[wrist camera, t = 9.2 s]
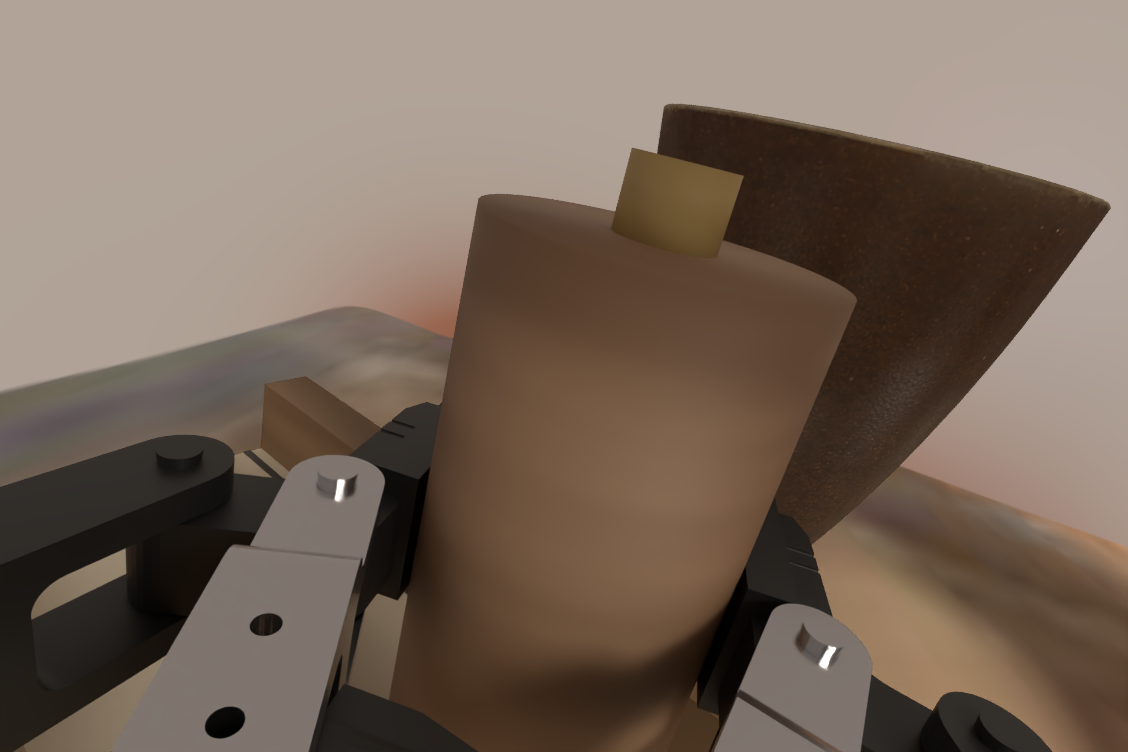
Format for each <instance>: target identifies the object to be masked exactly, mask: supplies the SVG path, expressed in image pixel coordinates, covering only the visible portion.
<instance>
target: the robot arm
mask: <svg viewBox="0 0 1128 752" xmlns="http://www.w3.org/2000/svg"><path fill="white" fill-rule="evenodd" d="M441 405H442V403H441V404H440V405H439V406H438V405H434V404H431V403H428V402H425V403H422V404H419V405H416V406H412V407H409V408H406V409H404V410H403V411H402V412H401V413H400V414H398V415H397V416H396V417H395V418H394V419H392V422H389V423H387V424H386V425H385V426H384V427H383V428H381V431H378V432H377V433H375V434H374V435H373V436H372V437H371V438H369V439H368V440H367V441H366V442H364V443H363V444H362V445H361V446H360V447H358V448H357V449H356V450H355V451H354V452H352V453H351V454H350V455H349V456H344V455H325V456H318V457H313V458H310V459H307V460H305V461H302V462H300V463H299V464H297V465H296V466H294V467H293V468H292V469H291V471H290V472H289V473H288V475H287V477H286V479H283V478H271V477H262V476H254V475H246V474H237V473H234V460H235V458H234V453H233V451H232V449H231V448H230V447H229V446H227V445H226V444H225V443H223V442H221V441H219V440H216V439H213V438H209V437H204V436H197V435H172V436H165V437H159V438H155V439H151V440H148V441H144V442H141V443H138V444H135V445H132V446H129V447H126V448H122V449H119V450H116V451H113V452H110V453H107V454H103V455H100V456H97V457H94V458H91V459H88V460H84V461H81V462H78V463H75V464H72V465H69V466H65V467H62V468H59V469H56V470H53V471H50V472H46V473H43V474H40V475H37V476H34V477H31V478H28V479H24V480H21V481H18V482H15V483H12V484H9V485H5V486H2V487H0V752H13V751H15V750H17V749H18V748H20V747H21V746H23V745H25V744H26V743H28V742H29V741H31V740H33V739H34V738H36V737H37V736H39V735H41V734H42V733H44V732H45V731H47V730H48V729H50V728H52V727H53V726H55V725H56V724H58V723H60V722H61V721H63V720H64V719H66V718H68V717H69V716H71V715H72V714H74V713H75V712H77V711H79V710H80V709H82V708H83V707H85V706H87V705H88V704H90V703H91V702H93V701H95V700H96V699H98V698H99V697H101V696H103V695H104V694H106V693H107V692H109V691H110V690H112V689H114V688H115V687H117V686H118V685H120V684H122V683H123V682H125V681H126V680H128V679H130V678H131V677H133V676H134V675H136V674H137V673H139V672H141V671H142V670H144V669H145V668H147V667H149V666H150V665H152V664H153V663H155V662H157V661H158V660H160V659H161V658H163V657H165V656H166V657H165V658H164V660H163V662H162V664H161V665H160V667H159V669H158V671H157V672H156V674H155V676H154V677H153V679H152V681H151V683H150V684H149V686H148V688H147V690H146V691H145V693H144V695H143V696H142V698H141V700H140V702H139V703H138V705H137V707H136V708H135V710H134V712H133V714H132V715H131V717H130V719H129V721H128V722H127V724H126V726H125V727H124V729H123V731H122V733H121V734H120V736H119V738H118V740H117V741H116V743H115V745H114V746H113V748H112V750H111V752H478V751H477V750H475V749H474V748H472V747H471V746H469V745H468V744H467V743H465V742H464V741H462V740H461V739H459V738H458V737H457V736H455V735H454V734H452V733H451V732H449V731H448V730H446V729H445V728H444V727H442V726H441V725H439V724H438V723H436V722H435V721H434V720H432V719H431V718H429V717H428V716H426V715H425V714H423V713H422V712H419V711H417V710H414V709H411V708H409V707H406V706H403V705H401V704H398V703H395V702H393V701H390V700H387V699H385V698H382V697H379V696H377V695H374V694H371V693H369V692H366V691H363V690H361V689H358V688H355V687H353V686H350V681H351V676H352V672H353V668H354V663H355V659H356V655H357V650H358V646H359V642H360V637H361V633H362V628H363V624H364V618H365V611H366V608H367V607H368V605H369V604H370V603H371V601H372V600H373V599H374V597H375V596H376V595H377V594H380V595H383V596H386V597H389V598H391V599H394V600H397V601H398V600H399V598H400V597H401V595H402V594H403V592H404V591H405V590H406V588H407V587H408V585H409V584H410V578H411V573H412V567H413V562H414V556H415V550H416V545H417V539H418V534H419V528H420V523H421V517H422V511H423V506H424V500H425V495H426V489H427V483H428V478H429V472H430V467H431V461H432V456H433V450H434V444H435V439H436V433H437V428H438V422H439V417H440V411H441ZM123 549H126V574H124V575H122V576H120V577H118V578H116V579H114V580H112V581H110V582H108V583H106V584H104V585H102V586H100V587H98V588H96V589H94V590H92V591H89V592H87V593H85V594H83V595H81V596H79V597H77V598H75V599H73V600H71V601H69V602H67V603H65V604H63V605H61V606H59V607H57V608H54V609H52V610H50V611H48V612H46V613H44V614H42V615H40V616H38V617H36V618H34V619H31V612H32V609H33V606H34V604H35V602H36V600H37V599H38V597H39V596H40V595H41V594H42V592H43V591H44V590H45V589H46V588H48V587H49V586H50V585H51V584H52V583H54V582H55V581H57V580H58V579H60V578H62V577H64V576H66V575H68V574H70V573H72V572H75V571H77V570H79V569H81V568H83V567H86V566H88V565H90V564H92V563H94V562H97V561H99V560H101V559H103V558H106V557H108V556H110V555H112V554H114V553H117V552H119V551H121V550H123ZM813 557H814V552H813V549H812V546H811V542H810V539H809V536H808V535H807V534H806V533H805V531H804V530H803V529H802V528H801V527H800V525H799V524H798V523H797V522H796V520H795V519H794V518H793V517H790V516H787V515H784V514H780V513H778V509H777V505H776V500H775V497H774V499H773V501H772V504H771V506H770V508H769V511H768V513H767V516H766V518H765V520H764V523H763V525H762V527H761V530H760V532H759V535H758V537H757V539H756V542H755V544H754V546H753V549H752V551H751V554H750V556H749V558H748V561H747V563H746V565H745V568H744V570H743V572H742V575H741V577H740V580H739V582H738V584H737V587H736V589H735V591H734V594H733V596H732V599H731V601H730V603H729V606H728V608H727V610H726V613H725V615H724V618H723V620H722V622H721V625H720V627H719V629H718V632H717V634H716V637H715V639H714V641H713V644H712V646H711V648H710V651H709V653H708V656H707V658H706V660H705V663H704V665H703V667H702V670H701V672H700V674H699V677H698V679H697V708H699V709H702V710H705V711H707V712H710V713H713V714H716V715H719V729H718V731H717V733H716V735H715V738H714V740H713V742H712V744H711V746H710V749H709V751H708V752H1052V751H1051V750H1050V748H1049V747H1048V746H1047V745H1046V744H1045V743H1044V742H1043V740H1042V739H1041V738H1040V737H1039V736H1038V735H1037V734H1036V733H1035V732H1034V731H1032V730H1031V729H1030V728H1029V727H1028V726H1027V725H1025V724H1024V723H1023V722H1022V721H1021V720H1019V719H1018V718H1016V717H1015V716H1014V715H1012V714H1011V713H1009V712H1008V711H1006V710H1005V709H1003V708H1001V707H1000V706H998V705H996V704H994V703H992V702H990V701H988V700H986V699H983V698H981V697H978V696H975V695H973V694H968V693H964V692H950V693H947V694H945V695H943V696H942V697H941V698H940V700H939V701H938V703H937V705H936V706H935V708H934V709H933V711H932V710H930V709H928V708H926V707H925V706H923V705H921V704H919V703H918V702H916V701H914V700H912V699H910V698H909V697H907V696H905V695H903V694H902V693H900V692H898V691H896V690H894V689H893V688H891V687H889V686H888V685H886V684H884V683H883V682H881V681H880V680H879V679H877V678H876V677H874V676H873V675H872V661H871V657H870V655H869V653H868V651H867V649H866V647H865V646H864V644H863V643H862V642H861V641H860V639H859V638H858V637H857V636H856V635H855V634H854V633H853V632H852V631H851V630H850V629H849V628H847V627H846V626H845V625H844V624H842V623H841V622H839V621H838V620H837V619H835V618H833V616H832V613H831V610H830V606H829V603H828V600H827V596H826V593H825V590H824V586H823V583H822V579H821V576H820V574H819V573H818V570H819V569H818V566H817V563H816V559H815V558H813Z"/></svg>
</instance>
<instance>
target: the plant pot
mask: <svg viewBox="0 0 1128 752" xmlns="http://www.w3.org/2000/svg"><path fill="white" fill-rule="evenodd" d="M657 154H660V155H664V156H668V157H672V158H676V159H679V160H683V161H687V162H691V163H695V164H699V165H703V166H707V167H711V168H715V169H719V170H723V171H727V172H730V173H734V174H738V175H742V176H743V180H742V183H741V186H740V189H739V192H738V195H737V198H736V201H735V204H734V207H733V210H732V213H731V216H730V219H729V222H728V225H727V228H726V231H725V234H724V238H723V240H724V241H727V242H730V243H734V244H737V245H740V246H743V247H746V248H749V249H752V250H755V251H758V252H761V253H764V254H767V255H770V256H773V257H775V258H778V259H781V260H784V261H786V262H789V263H792V264H794V265H797V266H799V267H802V268H804V269H807V270H809V271H812V272H814V273H816V274H818V275H821V276H823V277H825V278H827V279H829V280H831V281H833V282H835V283H837V284H839V285H841V286H842V287H844V288H846V289H847V290H849V291H850V292H851V293H852V294H853V295H854V296H855V297H856V299H857V302H856V304H855V307H854V309H853V312H852V314H851V316H850V319H849V321H848V323H847V326H846V328H845V331H844V333H843V335H842V338H841V340H840V342H839V345H838V347H837V350H836V352H835V354H834V357H833V359H832V361H831V364H830V366H829V368H828V371H827V373H826V376H825V378H824V380H823V383H822V385H821V387H820V390H819V392H818V395H817V397H816V399H815V402H814V404H813V406H812V409H811V411H810V414H809V416H808V418H807V421H806V423H805V425H804V428H803V430H802V433H801V435H800V437H799V440H798V442H797V444H796V447H795V449H794V452H793V454H792V456H791V459H790V461H789V463H788V466H787V468H786V470H785V473H784V475H783V478H782V480H781V482H780V485H779V487H778V489H777V492H776V494H775V500H776V505H777V509H778V513H780V514H784V515H787V516H790V517H793V518H794V519H795V520H796V522H797V523H798V524H799V525H800V527H801V528H802V529H803V530H804V531H805V533H806V534H807V535H808V536H809V539H810V542H811V545H812V544H813V543H814V542H815V541H817V540H818V539H819V538H820V537H821V536H823V535H824V534H825V533H826V532H828V531H829V530H830V529H831V528H832V527H834V526H835V525H836V524H837V523H838V522H840V521H841V520H842V519H843V518H844V517H845V516H846V515H847V514H849V513H850V512H851V511H852V510H853V509H854V508H855V507H856V506H857V505H859V504H860V503H861V502H862V501H863V500H864V499H865V498H866V497H867V496H868V495H869V494H870V493H872V492H873V491H874V490H875V489H876V488H877V487H878V486H879V485H880V484H881V483H882V482H883V481H884V480H885V479H886V478H887V477H888V476H889V475H891V474H892V473H893V472H894V471H895V470H896V469H897V468H898V467H899V466H900V465H901V464H902V462H904V460H906V458H907V457H908V456H909V455H910V454H911V453H912V452H913V451H914V450H915V449H916V448H917V447H918V446H919V445H920V444H921V443H922V442H923V441H924V440H925V439H926V438H927V437H928V436H929V435H930V433H931V432H932V431H933V430H934V429H935V428H936V427H937V426H938V425H939V424H940V423H941V422H942V420H943V419H944V418H945V417H946V416H947V415H948V414H949V413H950V412H951V411H952V410H953V409H954V408H955V406H956V405H957V404H958V403H959V402H960V401H961V400H962V399H963V398H964V396H965V395H966V394H967V393H968V392H969V391H970V389H971V388H972V387H973V386H974V385H975V384H976V382H977V381H978V380H979V379H980V378H981V377H982V375H983V374H984V373H985V372H986V371H987V370H988V369H989V367H990V366H991V365H992V364H993V362H994V361H995V360H996V359H997V358H998V357H999V355H1000V354H1001V353H1002V352H1003V351H1004V349H1005V348H1006V347H1007V346H1008V344H1009V343H1010V342H1011V341H1012V340H1013V338H1014V337H1015V336H1016V335H1017V333H1018V332H1019V331H1020V330H1021V328H1022V327H1023V326H1024V325H1025V323H1026V322H1027V321H1028V319H1029V318H1030V317H1031V316H1032V314H1033V313H1034V311H1035V310H1036V309H1037V308H1038V306H1039V305H1040V304H1041V302H1042V301H1043V300H1044V298H1045V297H1046V296H1047V295H1048V293H1049V292H1050V291H1051V289H1052V288H1053V286H1054V285H1055V284H1056V283H1057V281H1058V280H1059V278H1060V277H1061V276H1062V274H1063V273H1064V272H1065V270H1066V269H1067V268H1068V266H1069V265H1070V264H1071V262H1072V261H1073V260H1074V258H1075V257H1076V255H1077V254H1078V253H1079V251H1080V250H1081V249H1082V247H1083V246H1084V244H1085V243H1086V242H1087V240H1088V239H1089V238H1090V236H1091V235H1092V233H1093V232H1094V231H1095V229H1096V228H1097V226H1098V225H1099V224H1100V222H1101V221H1102V220H1103V218H1104V217H1105V215H1106V214H1107V213H1108V211H1109V210H1110V209H1111V207H1110V205H1109V203H1108V202H1106V201H1104V200H1103V199H1100V198H1097V197H1095V196H1092V195H1089V194H1086V193H1084V192H1081V191H1078V190H1076V189H1072V188H1069V187H1066V186H1062V185H1059V184H1056V183H1052V182H1049V181H1046V180H1042V179H1038V178H1035V177H1032V176H1028V175H1024V174H1020V173H1016V172H1013V171H1009V170H1005V169H1002V168H998V167H994V166H990V165H986V164H983V163H979V162H975V161H971V160H966V159H963V158H959V157H955V156H950V155H946V154H943V153H938V152H934V151H929V150H925V149H921V148H917V147H912V146H908V145H904V144H899V143H894V142H890V141H885V140H881V139H877V138H872V137H867V136H863V135H858V134H854V133H849V132H844V131H840V130H835V129H830V128H824V127H819V126H814V125H809V124H803V123H799V122H793V121H789V120H784V119H778V118H772V117H767V116H761V115H755V114H750V113H743V112H738V111H731V110H725V109H719V108H712V107H704V106H696V105H685V104H668V105H666V106H665V107H664V111H663V118H662V125H661V132H660V138H659V145H658V152H657Z"/></svg>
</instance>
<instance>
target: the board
mask: <svg viewBox="0 0 1128 752" xmlns="http://www.w3.org/2000/svg"><path fill="white" fill-rule="evenodd" d="M378 431H381V428H380V427H379V426H377V425H376V424H374V423H373V422H371V421H370V420H368V419H367V418H366V417H364V416H363V415H361V414H360V413H358V412H357V411H355V410H354V409H352V408H351V407H350V406H348V405H347V404H345V403H344V402H342V401H341V400H339V399H338V398H336V397H335V396H334V395H332V394H331V393H329V392H328V391H326V390H325V389H323V388H322V387H320V386H319V385H318V384H316V383H315V382H313V381H312V380H310V379H309V378H307V377H300V378H295V379H290V380H284V381H279V382H273V383H268V384H265V393H264V409H263V424H262V440H261V448H259V449H255V450H252V451H251V450H249V451H245V452H243V453H240V454H237V455H234V458H235V460H234V473H237V474H246V475H254V476H262V477H271V478H283V479H286V477H287V475H288V473H289V472H290V471H291V469H292V468H293V467H294V466H296V465H297V464H299V463H300V462H302V461H305V460H307V459H310V458H313V457H318V456H325V455H344V456H349V455H350V454H351V453H352V452H354V451H355V450H356V449H357V448H358V447H360V446H361V445H362V444H363V443H364V442H366V441H367V440H368V439H369V438H371V437H372V436H373V435H374V434H375V433H377V432H378ZM124 574H126V549H123V550H121V551H119V552H117V553H114V554H112V555H110V556H108V557H106V558H103V559H101V560H99V561H97V562H94V563H92V564H90V565H88V566H86V567H83V568H81V569H79V570H77V571H75V572H72V573H70V574H68V575H66V576H64V577H62V578H60V579H58V580H57V581H55V582H54V583H52V584H51V585H50V586H49V587H48V588H46V589H45V590H44V591H43V592H42V594H41V595H40V596H39V597H38V599H37V600H36V602H35V604H34V606H33V609H32V612H31V619H34V618H36V617H38V616H40V615H42V614H44V613H46V612H48V611H50V610H52V609H54V608H57V607H59V606H61V605H63V604H65V603H67V602H69V601H71V600H73V599H75V598H77V597H79V596H81V595H83V594H85V593H87V592H89V591H92V590H94V589H96V588H98V587H100V586H102V585H104V584H106V583H108V582H110V581H112V580H114V579H116V578H118V577H120V576H122V575H124ZM408 589H409V585H408V587H407V588H406V590H405V591H404V592H403V594H402V595H401V597H400V598H399V600H398V601H397V600H394V599H391V598H389V597H386V596H383V595H380V594H377V595H376V596H375V597H374V599H373V600H372V601H371V603H370V604H369V605H368V607H367V608H366V611H365V618H364V624H363V628H362V633H361V637H360V642H359V646H358V650H357V655H356V659H355V663H354V668H353V672H352V676H351V681H350V686H353V687H355V688H358V689H361V690H363V691H366V692H369V693H371V694H374V695H377V696H379V697H382V698H385V699H387V700H389V695H390V690H391V684H392V679H393V673H394V668H395V662H396V656H397V651H398V645H399V640H400V634H401V629H402V623H403V617H404V612H405V606H406V601H407V595H408ZM165 657H166V656H165ZM165 657H163V658H161V659H160V660H158V661H157V662H155V663H153V664H152V665H150V666H149V667H147V668H145V669H144V670H142V671H141V672H139V673H137V674H136V675H134V676H133V677H131V678H130V679H128V680H126V681H125V682H123V683H122V684H120V685H118V686H117V687H115V688H114V689H112V690H110V691H109V692H107V693H106V694H104V695H103V696H101V697H99V698H98V699H96V700H95V701H93V702H91V703H90V704H88V705H87V706H85V707H83V708H82V709H80V710H79V711H77V712H75V713H74V714H72V715H71V716H69V717H68V718H66V719H64V720H63V721H61V722H60V723H58V724H56V725H55V726H53V727H52V728H50V729H48V730H47V731H45V732H44V733H42V734H41V735H39V736H37V737H36V738H34V739H33V740H31V741H29V742H28V743H26V744H25V745H23V746H21V747H20V748H18V749H17V750H15V751H13V752H111V750H112V748H113V746H114V745H115V743H116V741H117V740H118V738H119V736H120V734H121V733H122V731H123V729H124V727H125V726H126V724H127V722H128V721H129V719H130V717H131V715H132V714H133V712H134V710H135V708H136V707H137V705H138V703H139V702H140V700H141V698H142V696H143V695H144V693H145V691H146V690H147V688H148V686H149V684H150V683H151V681H152V679H153V677H154V676H155V674H156V672H157V671H158V669H159V667H160V665H161V664H162V662H163V660H164V658H165ZM718 729H719V715H716V714H713V713H710V712H707V711H705V710H702V709H699V708H697V682H696V684H695V686H694V689H693V691H692V693H691V696H690V698H689V701H688V703H687V705H686V708H685V710H684V712H683V715H682V717H681V720H680V722H679V724H678V727H677V729H676V731H675V734H674V736H673V739H672V741H671V743H670V746H669V748H668V750H667V752H708V751H709V749H710V746H711V744H712V742H713V740H714V738H715V735H716V733H717V731H718Z"/></svg>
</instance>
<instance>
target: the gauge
mask: <svg viewBox="0 0 1128 752" xmlns="http://www.w3.org/2000/svg"><path fill="white" fill-rule="evenodd" d="M742 180H743V176H742V175H738V174H734V173H730V172H727V171H723V170H719V169H715V168H711V167H707V166H703V165H699V164H695V163H691V162H687V161H683V160H679V159H676V158H672V157H668V156H664V155H660V154H656V153H652V152H648V151H643V150H639V149H635V148H632V150H631V153H630V157H629V161H628V165H627V169H626V173H625V177H624V180H623V184H622V188H621V192H620V196H619V200H618V204H617V207H616V211H615V212H614V211H610V210H605V209H600V208H596V207H591V206H586V205H581V204H575V203H570V202H564V201H559V200H553V199H546V198H539V197H532V196H523V195H511V194H490V195H485V196H481V197H480V198H479V199H478V205H477V210H476V216H475V221H474V227H473V233H472V238H471V244H470V249H469V255H468V261H467V266H466V272H465V277H464V283H463V288H462V294H461V299H460V305H459V311H458V316H457V322H456V328H455V333H454V338H453V344H452V350H451V355H450V361H449V366H448V372H447V378H446V383H445V389H444V394H443V400H442V405H441V411H440V417H439V422H438V428H437V433H436V439H435V444H434V450H433V456H432V461H431V467H430V472H429V478H428V483H427V489H426V495H425V500H424V506H423V511H422V517H421V523H420V528H419V534H418V539H417V545H416V550H415V556H414V562H413V567H412V573H411V578H410V584H409V589H408V595H407V601H406V606H405V612H404V617H403V623H402V629H401V634H400V640H399V645H398V651H397V656H396V662H395V668H394V673H393V679H392V684H391V690H390V695H389V700H390V701H393V702H395V703H398V704H401V705H403V706H406V707H409V708H411V709H414V710H417V711H419V712H422V713H423V714H425V715H426V716H428V717H429V718H431V719H432V720H434V721H435V722H436V723H438V724H439V725H441V726H442V727H444V728H445V729H446V730H448V731H449V732H451V733H452V734H454V735H455V736H457V737H458V738H459V739H461V740H462V741H464V742H465V743H467V744H468V745H469V746H471V747H472V748H474V749H475V750H477V751H478V752H667V750H668V748H669V746H670V743H671V741H672V739H673V736H674V734H675V731H676V729H677V727H678V724H679V722H680V720H681V717H682V715H683V712H684V710H685V708H686V705H687V703H688V701H689V698H690V696H691V693H692V691H693V689H694V686H695V684H696V682H697V679H698V677H699V674H700V672H701V670H702V667H703V665H704V663H705V660H706V658H707V656H708V653H709V651H710V648H711V646H712V644H713V641H714V639H715V637H716V634H717V632H718V629H719V627H720V625H721V622H722V620H723V618H724V615H725V613H726V610H727V608H728V606H729V603H730V601H731V599H732V596H733V594H734V591H735V589H736V587H737V584H738V582H739V580H740V577H741V575H742V572H743V570H744V568H745V565H746V563H747V561H748V558H749V556H750V554H751V551H752V549H753V546H754V544H755V542H756V539H757V537H758V535H759V532H760V530H761V527H762V525H763V523H764V520H765V518H766V516H767V513H768V511H769V508H770V506H771V504H772V501H773V499H774V497H775V494H776V492H777V489H778V487H779V485H780V482H781V480H782V478H783V475H784V473H785V470H786V468H787V466H788V463H789V461H790V459H791V456H792V454H793V452H794V449H795V447H796V444H797V442H798V440H799V437H800V435H801V433H802V430H803V428H804V425H805V423H806V421H807V418H808V416H809V414H810V411H811V409H812V406H813V404H814V402H815V399H816V397H817V395H818V392H819V390H820V387H821V385H822V383H823V380H824V378H825V376H826V373H827V371H828V368H829V366H830V364H831V361H832V359H833V357H834V354H835V352H836V350H837V347H838V345H839V342H840V340H841V338H842V335H843V333H844V331H845V328H846V326H847V323H848V321H849V319H850V316H851V314H852V312H853V309H854V307H855V304H856V302H857V299H856V297H855V296H854V295H853V294H852V293H851V292H850V291H849V290H847V289H846V288H844V287H842V286H841V285H839V284H837V283H835V282H833V281H831V280H829V279H827V278H825V277H823V276H821V275H818V274H816V273H814V272H812V271H809V270H807V269H804V268H802V267H799V266H797V265H794V264H792V263H789V262H786V261H784V260H781V259H778V258H775V257H773V256H770V255H767V254H764V253H761V252H758V251H755V250H752V249H749V248H746V247H743V246H740V245H737V244H734V243H730V242H727V241H724V240H723V238H724V234H725V231H726V228H727V225H728V222H729V219H730V216H731V213H732V210H733V207H734V204H735V201H736V198H737V195H738V192H739V189H740V186H741V183H742Z"/></svg>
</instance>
